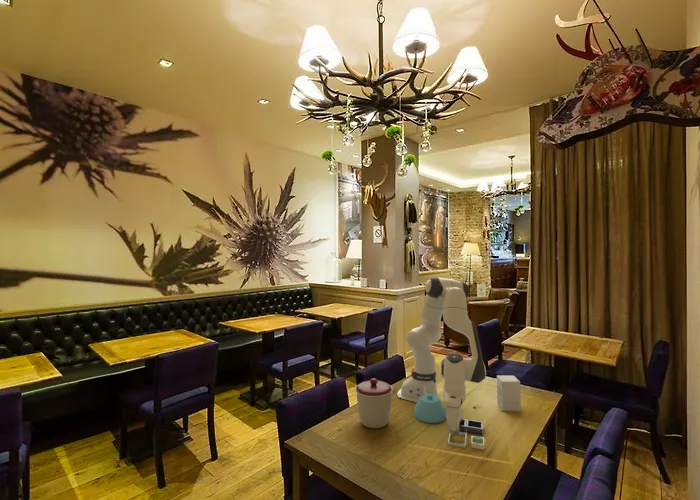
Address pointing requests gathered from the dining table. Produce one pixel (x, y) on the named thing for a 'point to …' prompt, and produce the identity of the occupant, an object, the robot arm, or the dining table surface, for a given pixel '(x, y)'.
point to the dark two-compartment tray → (471, 427)
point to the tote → (457, 443)
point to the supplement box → (508, 393)
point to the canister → (374, 402)
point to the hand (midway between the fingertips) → (454, 426)
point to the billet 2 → (461, 417)
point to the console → (477, 444)
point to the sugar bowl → (430, 409)
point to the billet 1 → (456, 429)
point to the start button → (477, 439)
